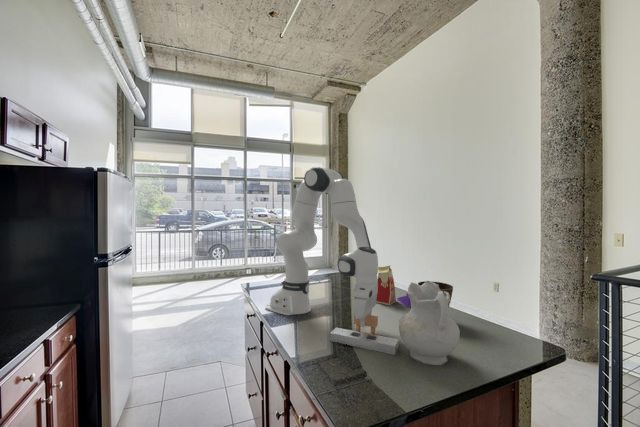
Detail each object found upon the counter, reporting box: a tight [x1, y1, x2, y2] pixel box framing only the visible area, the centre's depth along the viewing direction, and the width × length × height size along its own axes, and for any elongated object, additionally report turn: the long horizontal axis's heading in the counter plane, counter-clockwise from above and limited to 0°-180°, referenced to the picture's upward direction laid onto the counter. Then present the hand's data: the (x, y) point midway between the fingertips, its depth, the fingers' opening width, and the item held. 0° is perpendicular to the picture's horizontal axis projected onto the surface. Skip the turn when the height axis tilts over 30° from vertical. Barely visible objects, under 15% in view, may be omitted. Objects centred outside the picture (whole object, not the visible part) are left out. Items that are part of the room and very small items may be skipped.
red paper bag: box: [376, 265, 397, 306], centre depth 161 cm, size 9×9×20 cm
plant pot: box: [417, 280, 454, 309], centre depth 135 cm, size 15×15×16 cm
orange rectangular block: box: [353, 314, 379, 335], centre depth 119 cm, size 9×3×7 cm, turn 66°
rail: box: [329, 327, 399, 356], centre depth 110 cm, size 24×6×3 cm, turn 66°
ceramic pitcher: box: [398, 280, 461, 366], centre depth 100 cm, size 22×20×25 cm
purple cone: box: [396, 292, 411, 308], centre depth 160 cm, size 12×7×7 cm, turn 13°
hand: (365, 322), depth 120 cm, fingers open, 6 cm apart
